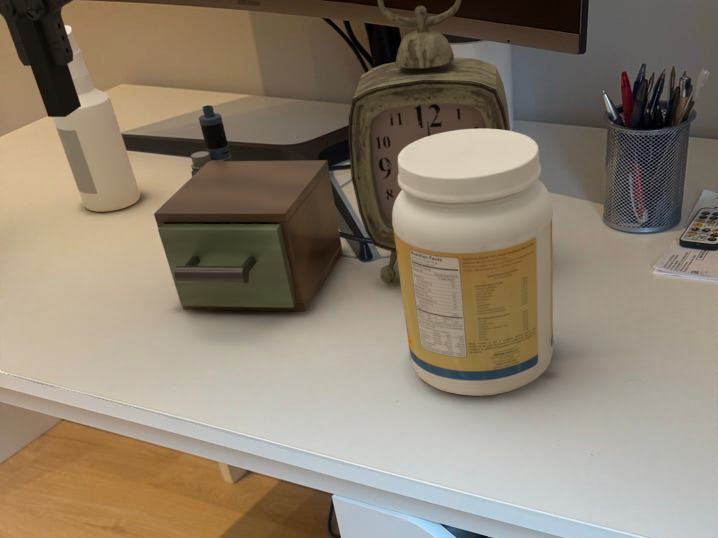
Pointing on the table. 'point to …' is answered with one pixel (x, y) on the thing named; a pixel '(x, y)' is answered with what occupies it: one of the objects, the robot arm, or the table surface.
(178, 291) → the drawer
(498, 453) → the table surface
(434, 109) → the tabletop clock
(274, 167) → the cabinet
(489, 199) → the supplement tub
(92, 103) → the spray bottle
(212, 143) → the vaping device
